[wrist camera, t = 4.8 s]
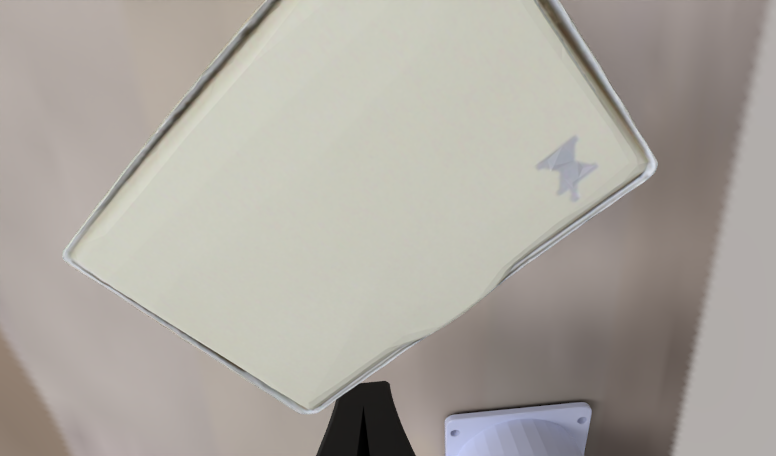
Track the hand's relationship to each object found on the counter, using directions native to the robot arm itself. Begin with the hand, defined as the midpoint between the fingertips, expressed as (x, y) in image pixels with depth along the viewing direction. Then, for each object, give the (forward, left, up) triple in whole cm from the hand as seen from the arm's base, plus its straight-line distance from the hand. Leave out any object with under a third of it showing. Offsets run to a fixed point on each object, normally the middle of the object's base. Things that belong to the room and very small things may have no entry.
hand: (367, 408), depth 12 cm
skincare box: (+9, -1, -8) cm, 12 cm away
